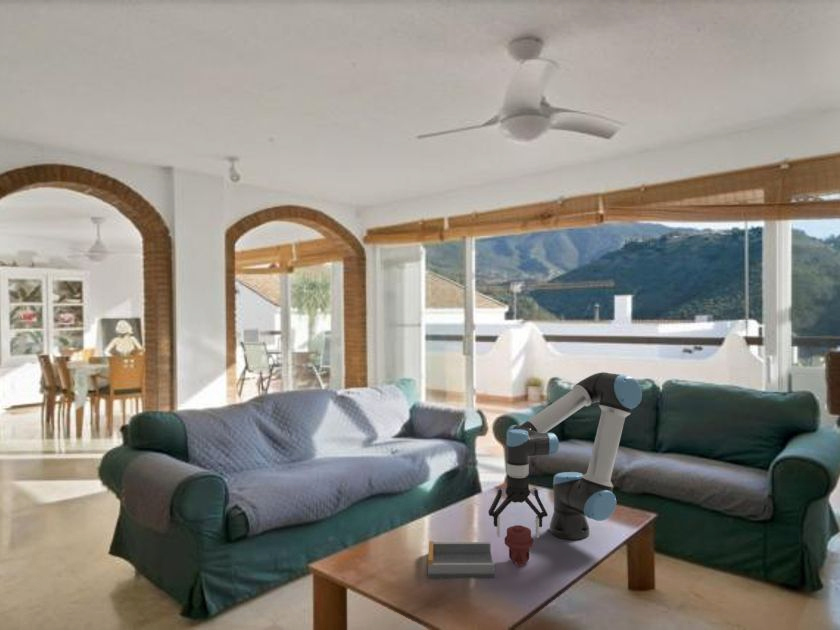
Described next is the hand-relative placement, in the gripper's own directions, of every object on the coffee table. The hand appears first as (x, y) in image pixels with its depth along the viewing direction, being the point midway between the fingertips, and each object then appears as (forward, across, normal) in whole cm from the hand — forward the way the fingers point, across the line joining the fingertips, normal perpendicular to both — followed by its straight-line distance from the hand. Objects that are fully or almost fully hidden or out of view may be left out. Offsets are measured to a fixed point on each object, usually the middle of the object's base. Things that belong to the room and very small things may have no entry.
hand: (517, 535), depth 198 cm
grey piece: (+10, +20, +2) cm, 22 cm away
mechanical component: (+10, -1, 0) cm, 10 cm away
